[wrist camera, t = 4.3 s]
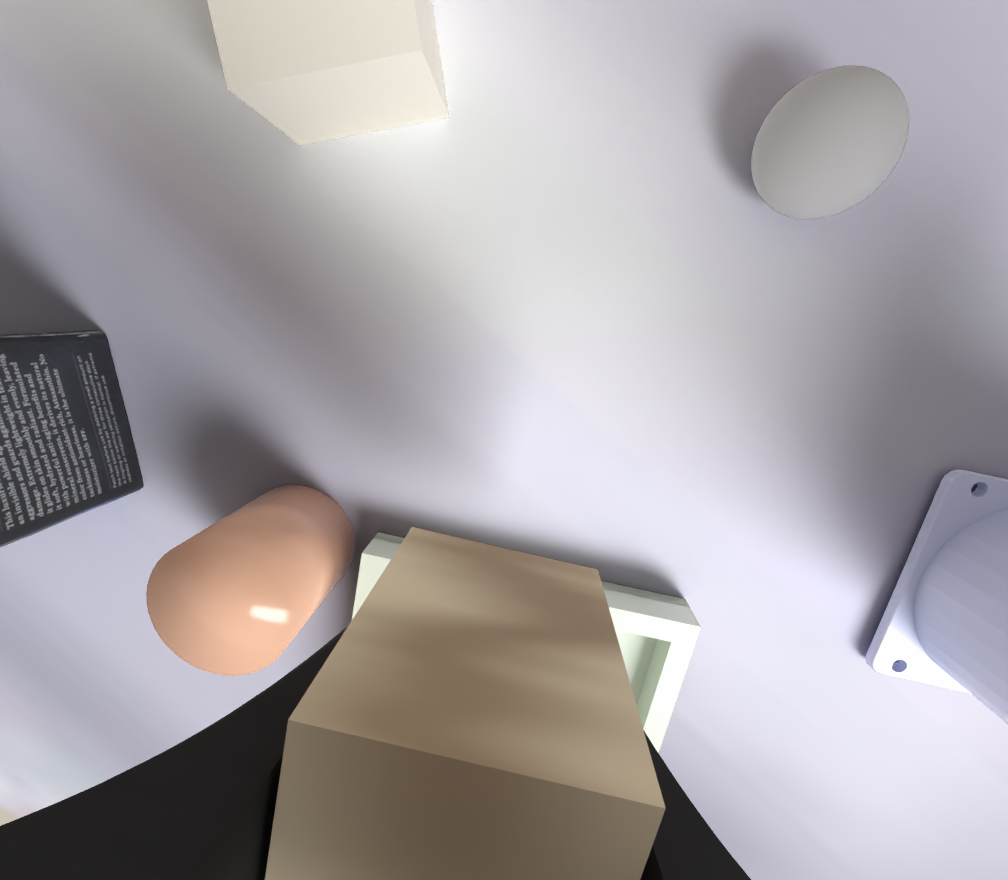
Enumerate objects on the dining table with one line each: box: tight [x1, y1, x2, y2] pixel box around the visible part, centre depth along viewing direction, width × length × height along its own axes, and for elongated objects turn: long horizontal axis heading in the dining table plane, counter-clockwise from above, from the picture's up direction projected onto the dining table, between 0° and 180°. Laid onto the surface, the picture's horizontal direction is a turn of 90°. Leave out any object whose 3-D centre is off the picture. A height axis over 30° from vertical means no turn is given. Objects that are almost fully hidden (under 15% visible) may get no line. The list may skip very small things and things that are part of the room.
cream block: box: [207, 0, 449, 146], centre depth 13 cm, size 5×5×4 cm
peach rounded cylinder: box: [147, 485, 355, 676], centre depth 17 cm, size 4×4×5 cm
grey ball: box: [751, 66, 909, 219], centre depth 13 cm, size 4×4×4 cm
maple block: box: [265, 527, 666, 880], centre depth 9 cm, size 4×4×6 cm
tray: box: [352, 532, 701, 753], centre depth 19 cm, size 12×12×2 cm
